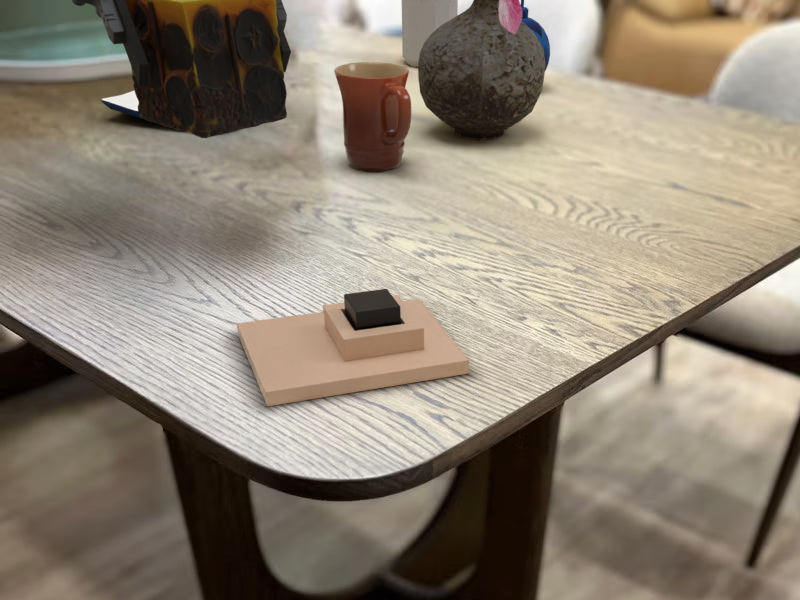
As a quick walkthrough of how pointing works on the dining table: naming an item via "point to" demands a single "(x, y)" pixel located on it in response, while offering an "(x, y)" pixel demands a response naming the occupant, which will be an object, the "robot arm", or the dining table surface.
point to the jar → (423, 24)
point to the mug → (374, 113)
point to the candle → (210, 64)
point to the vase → (482, 69)
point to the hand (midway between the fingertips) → (216, 69)
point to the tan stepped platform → (347, 353)
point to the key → (372, 309)
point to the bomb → (537, 32)
